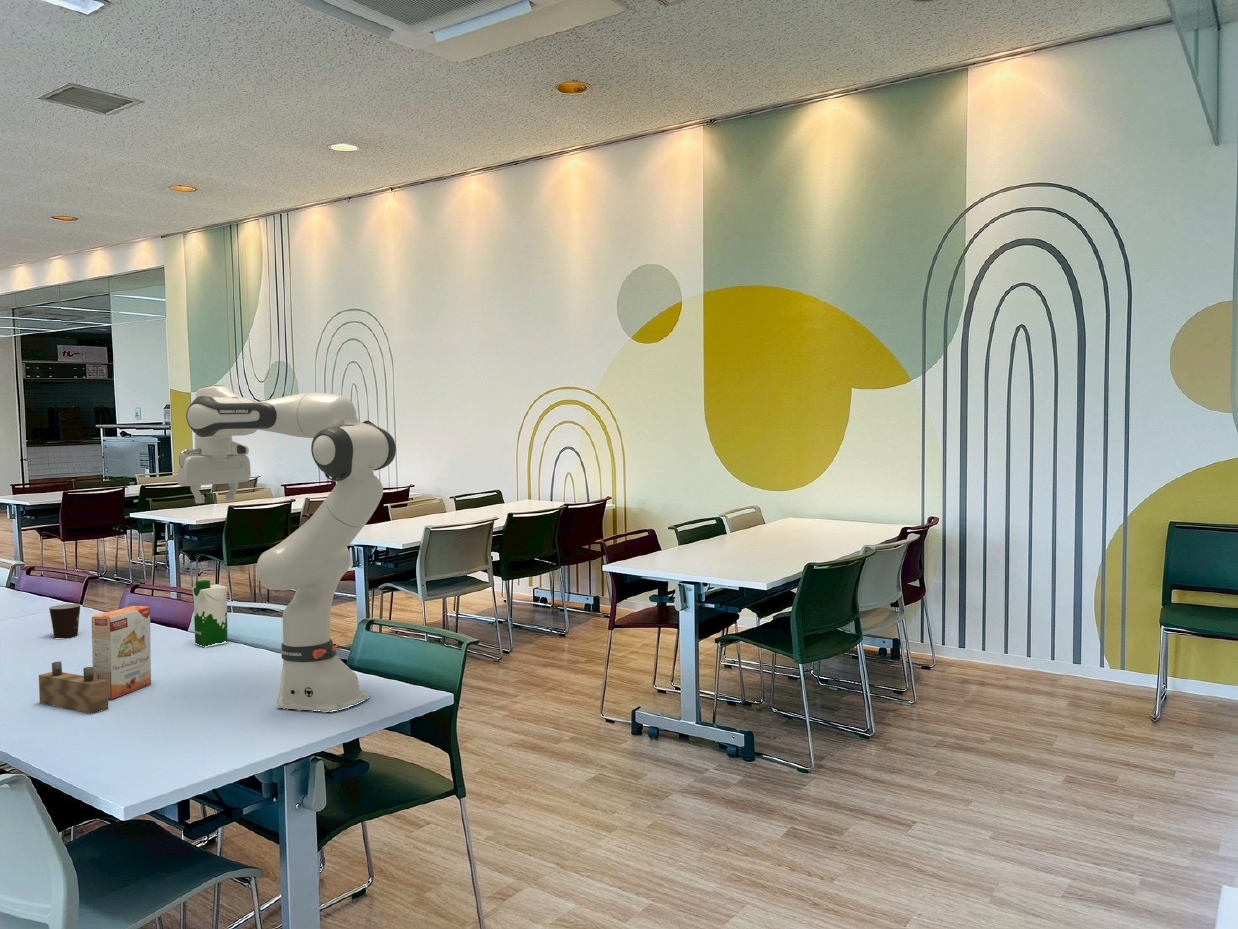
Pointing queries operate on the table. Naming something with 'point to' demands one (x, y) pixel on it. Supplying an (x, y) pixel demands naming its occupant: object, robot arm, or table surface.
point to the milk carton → (210, 613)
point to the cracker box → (122, 649)
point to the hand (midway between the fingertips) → (215, 501)
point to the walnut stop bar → (73, 690)
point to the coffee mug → (65, 620)
